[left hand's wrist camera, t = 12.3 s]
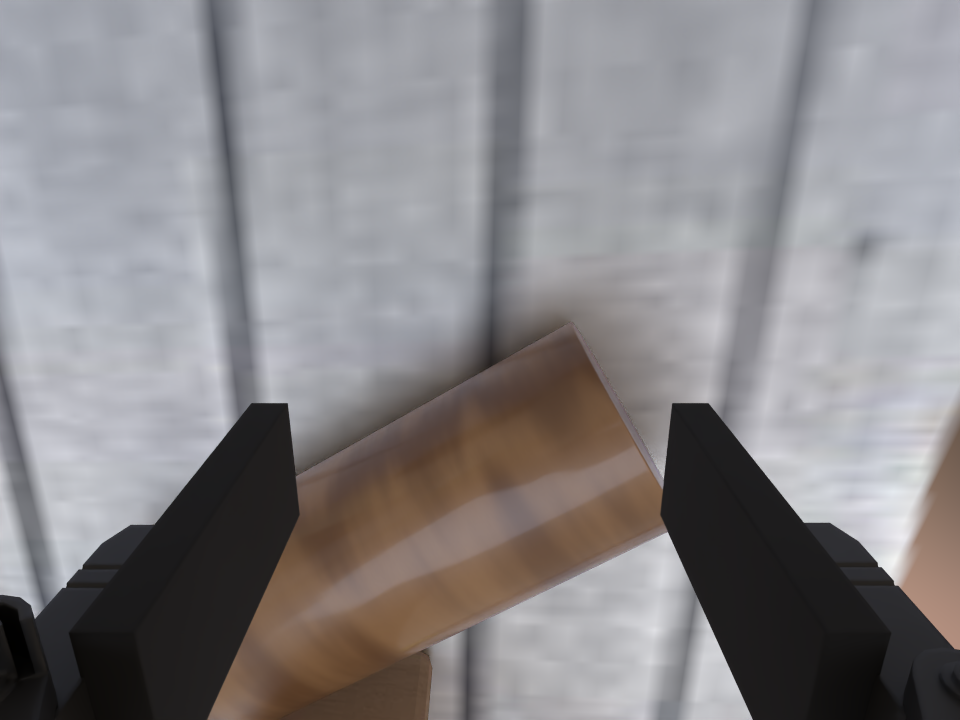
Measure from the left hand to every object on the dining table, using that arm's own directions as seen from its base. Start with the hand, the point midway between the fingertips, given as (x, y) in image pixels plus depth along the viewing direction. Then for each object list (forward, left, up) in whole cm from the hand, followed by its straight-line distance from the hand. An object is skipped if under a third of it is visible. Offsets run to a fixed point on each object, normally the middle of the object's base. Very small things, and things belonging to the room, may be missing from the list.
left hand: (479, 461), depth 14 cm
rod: (+10, +1, -15) cm, 18 cm away
